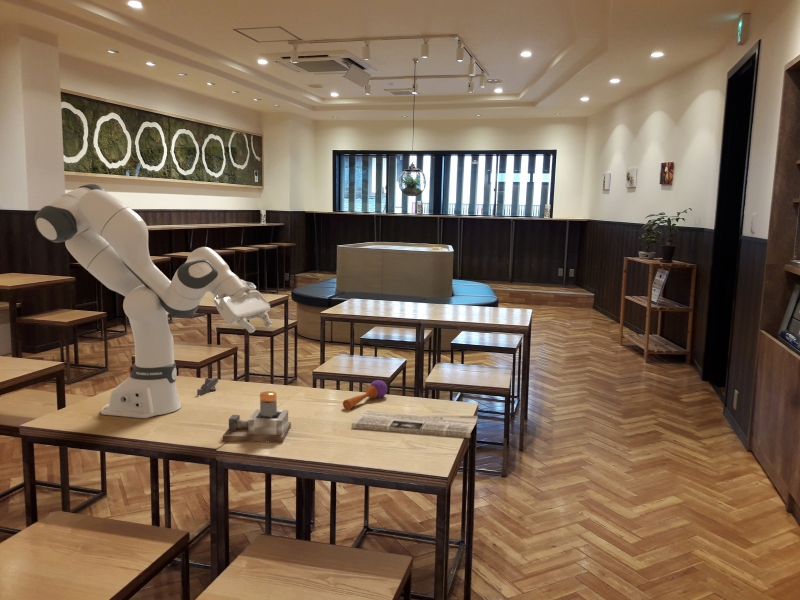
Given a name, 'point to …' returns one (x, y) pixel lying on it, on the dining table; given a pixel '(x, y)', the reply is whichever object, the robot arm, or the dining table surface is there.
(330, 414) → the dining table surface
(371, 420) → the newspaper
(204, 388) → the animal figurine
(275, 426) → the shaft base
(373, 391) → the kendama
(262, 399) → the orange topped cylinder
